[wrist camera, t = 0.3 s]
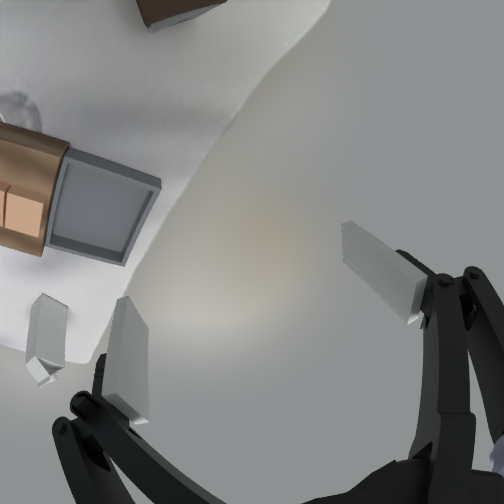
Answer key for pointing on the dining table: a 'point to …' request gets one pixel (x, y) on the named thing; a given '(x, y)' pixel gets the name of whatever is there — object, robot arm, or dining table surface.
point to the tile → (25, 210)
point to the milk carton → (46, 340)
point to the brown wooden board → (29, 177)
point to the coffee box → (172, 11)
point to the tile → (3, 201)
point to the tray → (99, 207)
